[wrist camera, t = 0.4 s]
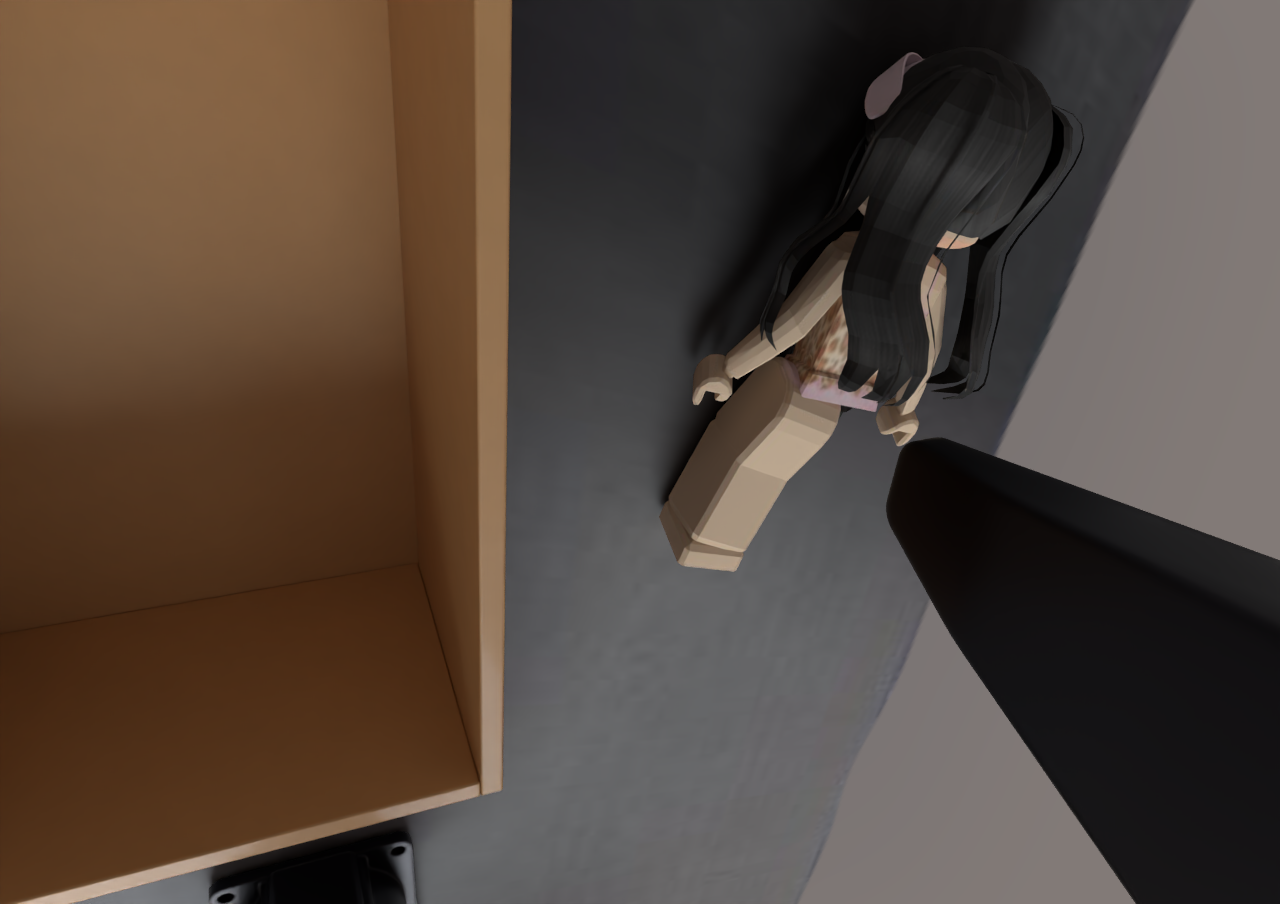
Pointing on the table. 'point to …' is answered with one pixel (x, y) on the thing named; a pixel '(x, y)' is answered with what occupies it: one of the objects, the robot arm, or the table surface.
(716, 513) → the toy figure
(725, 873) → the table surface
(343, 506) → the carton
